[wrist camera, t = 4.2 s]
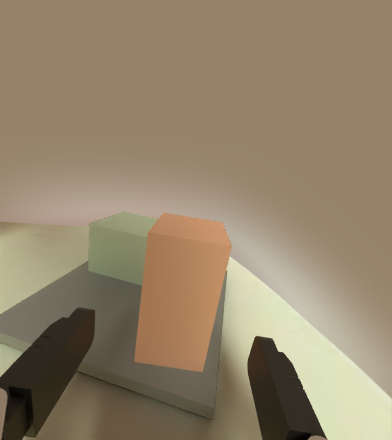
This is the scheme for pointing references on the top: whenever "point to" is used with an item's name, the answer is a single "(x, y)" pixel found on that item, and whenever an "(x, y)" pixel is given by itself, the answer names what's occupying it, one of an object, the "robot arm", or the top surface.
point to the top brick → (180, 291)
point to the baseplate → (115, 338)
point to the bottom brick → (119, 246)
